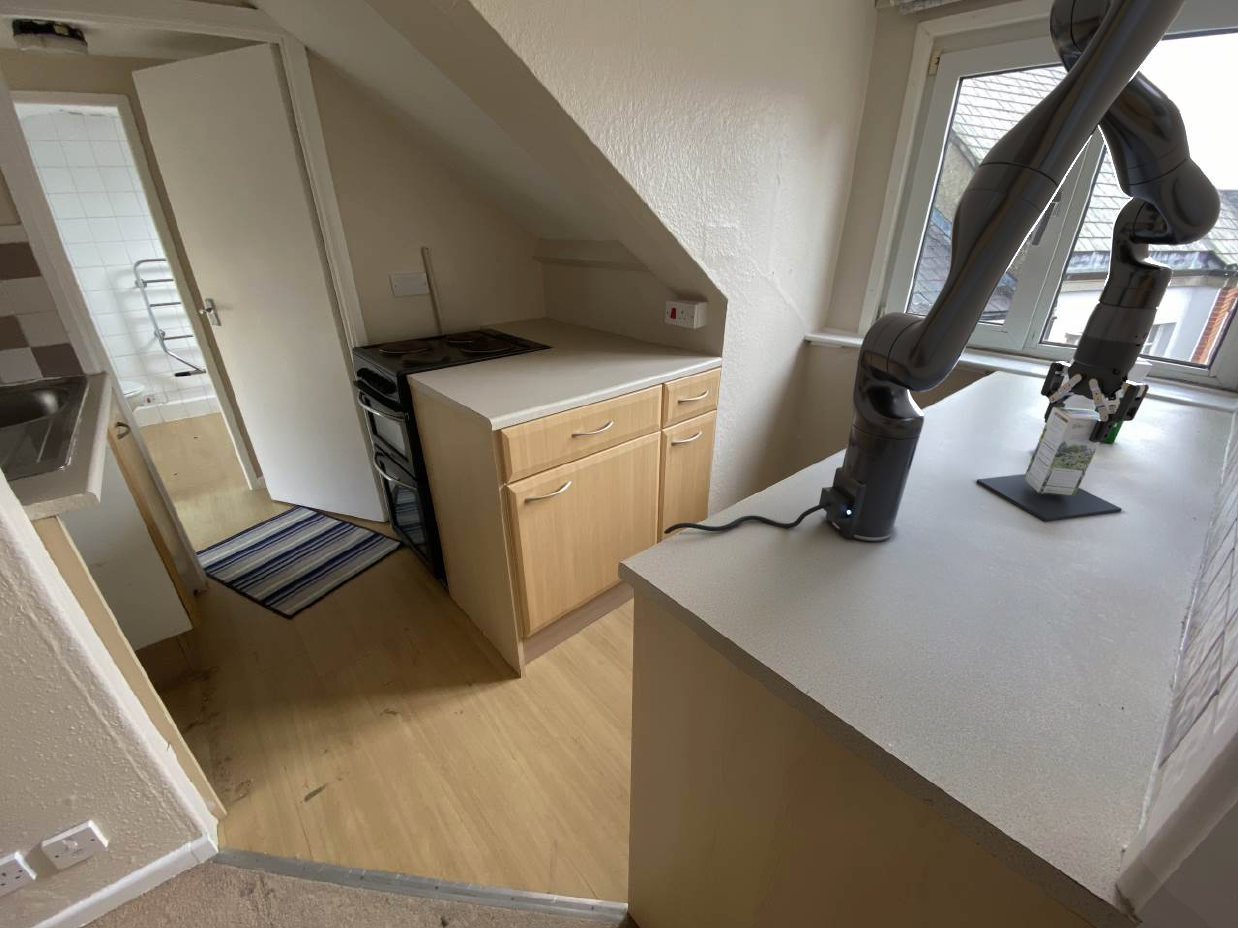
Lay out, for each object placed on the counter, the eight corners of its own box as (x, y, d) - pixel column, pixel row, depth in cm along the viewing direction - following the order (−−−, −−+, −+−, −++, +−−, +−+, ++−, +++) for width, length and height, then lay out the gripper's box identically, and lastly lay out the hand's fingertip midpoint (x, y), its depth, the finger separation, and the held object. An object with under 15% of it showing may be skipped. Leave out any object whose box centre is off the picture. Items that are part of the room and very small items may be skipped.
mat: (1044, 521, 87) (1046, 518, 87) (976, 482, 99) (977, 479, 99) (1120, 511, 90) (1122, 508, 90) (1045, 474, 103) (1046, 471, 102)
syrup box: (1057, 482, 96) (1089, 407, 90) (1075, 498, 91) (1111, 419, 85) (1022, 479, 97) (1052, 404, 91) (1038, 494, 92) (1071, 416, 86)
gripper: (1051, 325, 88) (1016, 418, 95) (1145, 346, 75) (1097, 451, 82) (1087, 324, 89) (1050, 415, 96) (1185, 344, 77) (1134, 447, 84)
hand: (1072, 432), depth 89 cm, fingers closed on syrup box, 7 cm apart
